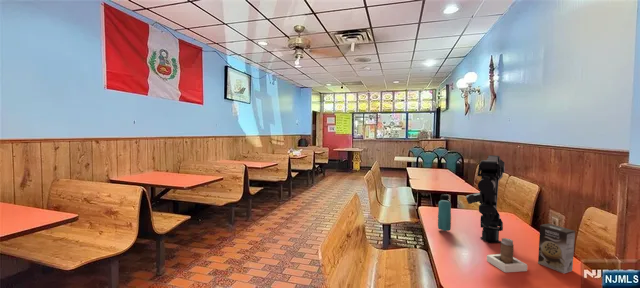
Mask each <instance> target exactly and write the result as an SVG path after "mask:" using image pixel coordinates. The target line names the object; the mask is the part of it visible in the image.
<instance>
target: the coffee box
mask: <svg viewBox="0 0 640 288" xmlns="http://www.w3.org/2000/svg"><path fill="white" fill-rule="evenodd" d="M575 238H576V231H575V230H574V229H569V228H566V227H563V226H559V225H555V224H552V223H544V224H540V225H539V240H538V256H537V257H538V260H537V264H539V265H540V266H541V265H542V266H544V267H546V268H548V269H552V270H553V271H557V272H558V273H561V274H567V273H570V272H573V271H572V270H573V269H574V267H573V266H574V264H573V263H574V253H575Z"/></svg>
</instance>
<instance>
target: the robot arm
mask: <svg viewBox="0 0 640 288" xmlns="http://www.w3.org/2000/svg"><path fill="white" fill-rule="evenodd" d="M477 169H478V170H477V177H481V179H480V180H479V181H478V183H477V189H478V190H479V192H478V193H471V194H468V195H466V196H465V198H466V201H467V204H468V205H472V204H473V203H479V205H478V212H479V214H481V215H480V228H481V229H482V231H481V236H480V237H479V238H480V239H481V240H483V241H485V242H486V243H489V244H497V243H498V244H499V243H500V244H501V241H502V240H500V239H499V237H500V232H502V231H503V230H504V223H503V220H502V218H501V215H500V213H499V211H498V196H499V182H500V180H501V179H502V178H503V177H504V173H505V171H506V167H505V161H503V160H502V159H501V156H499V155H493V154H492V155H491V154H489V155H487V159H486V160H485V159H483V160H481V161H480V162H479V163H478V168H477Z"/></svg>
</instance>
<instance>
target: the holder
mask: <svg viewBox="0 0 640 288" xmlns="http://www.w3.org/2000/svg"><path fill="white" fill-rule="evenodd" d="M486 262H488V263H489V264H491V265H492V266H494V267H496V268H498V269H499V270H500V271H502V272H503V273H517V272H527V271H528V264H527V263H525V262H523V261H521V260H520V259H518V258H516V257H514V256H513V264H505V263H503V262H501V261H500V253H496V254H487V255H486Z"/></svg>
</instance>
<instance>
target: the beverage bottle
mask: <svg viewBox="0 0 640 288" xmlns="http://www.w3.org/2000/svg"><path fill="white" fill-rule="evenodd" d="M449 200H450V198H449V194H445V193H444V194H443V193H442V194H441V195H440V200H439V201H438V211H437V228H438V229H439V230H440V231H444V232H445V231H446V232H447V231H451V228H452V222H451V221H452V203H451V201H449Z"/></svg>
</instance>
